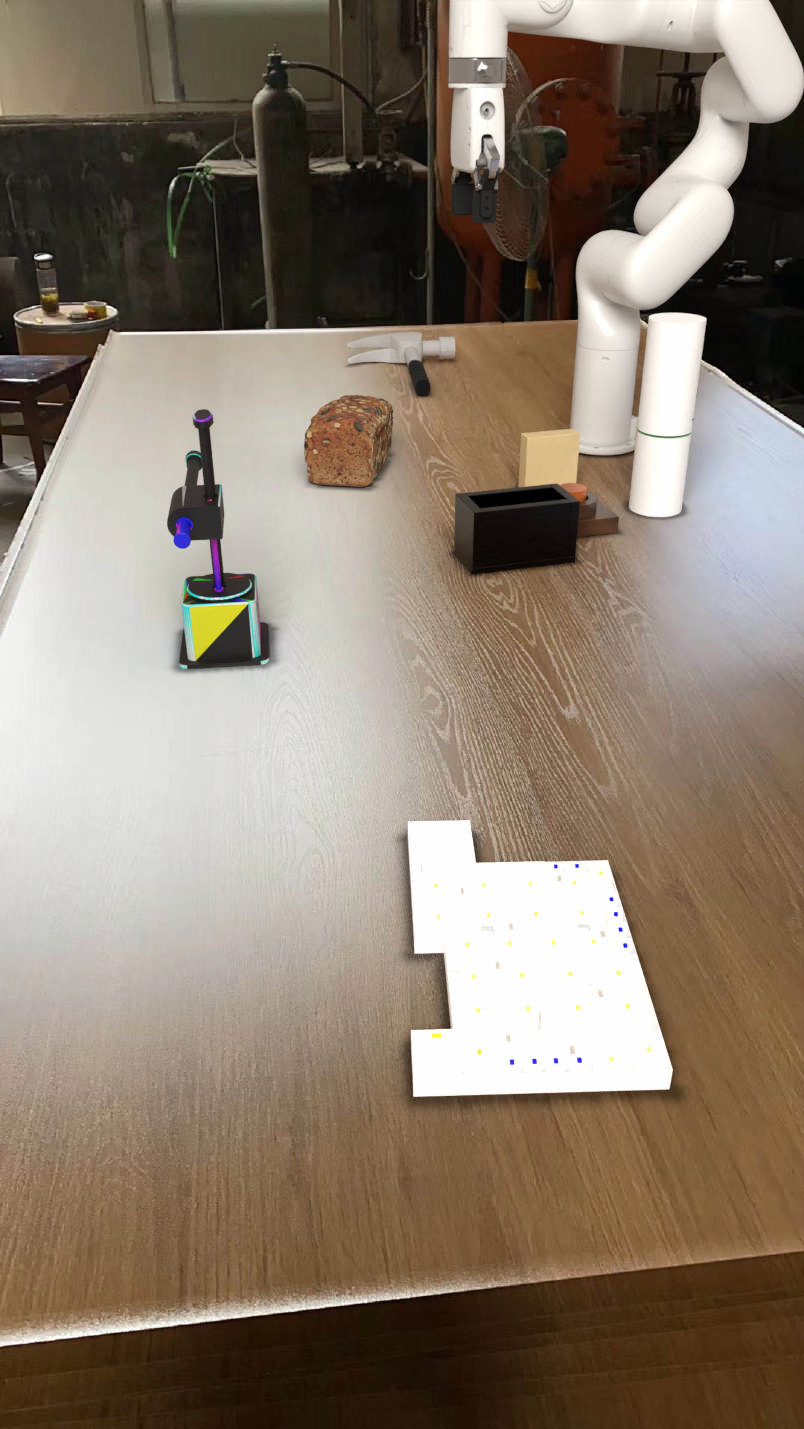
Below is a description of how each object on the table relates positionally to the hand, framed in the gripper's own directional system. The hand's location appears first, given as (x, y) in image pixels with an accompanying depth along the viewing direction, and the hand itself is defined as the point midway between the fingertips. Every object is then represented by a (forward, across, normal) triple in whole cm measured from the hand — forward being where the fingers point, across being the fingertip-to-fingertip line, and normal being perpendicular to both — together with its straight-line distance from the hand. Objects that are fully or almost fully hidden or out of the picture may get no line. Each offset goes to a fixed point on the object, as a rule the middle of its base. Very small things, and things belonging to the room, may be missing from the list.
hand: (472, 218), depth 150 cm
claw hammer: (+34, +54, -5) cm, 65 cm away
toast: (+34, -15, -8) cm, 38 cm away
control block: (+34, -30, -5) cm, 46 cm away
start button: (+31, -30, -5) cm, 43 cm away
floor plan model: (+35, -104, +29) cm, 113 cm away
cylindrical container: (+34, -26, -19) cm, 47 cm away
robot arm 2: (+35, -48, +42) cm, 73 cm away
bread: (+35, +2, +18) cm, 39 cm away
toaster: (+34, -38, +6) cm, 52 cm away
